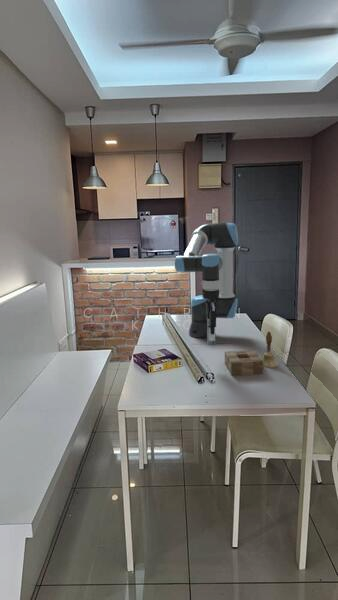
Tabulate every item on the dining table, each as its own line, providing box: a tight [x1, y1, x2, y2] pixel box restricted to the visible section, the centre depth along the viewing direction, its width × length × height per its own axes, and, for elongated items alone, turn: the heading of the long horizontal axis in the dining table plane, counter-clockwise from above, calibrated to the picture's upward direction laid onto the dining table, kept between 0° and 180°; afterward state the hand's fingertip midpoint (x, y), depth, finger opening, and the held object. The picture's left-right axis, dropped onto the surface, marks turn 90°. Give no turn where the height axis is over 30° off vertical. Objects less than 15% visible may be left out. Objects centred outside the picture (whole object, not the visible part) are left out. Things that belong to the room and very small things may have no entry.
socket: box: [224, 349, 264, 377], centre depth 167 cm, size 14×14×6 cm
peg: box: [206, 318, 216, 347], centre depth 168 cm, size 4×4×12 cm
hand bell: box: [262, 331, 279, 369], centre depth 170 cm, size 8×8×16 cm
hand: (211, 338), depth 168 cm, fingers closed on peg, 3 cm apart
